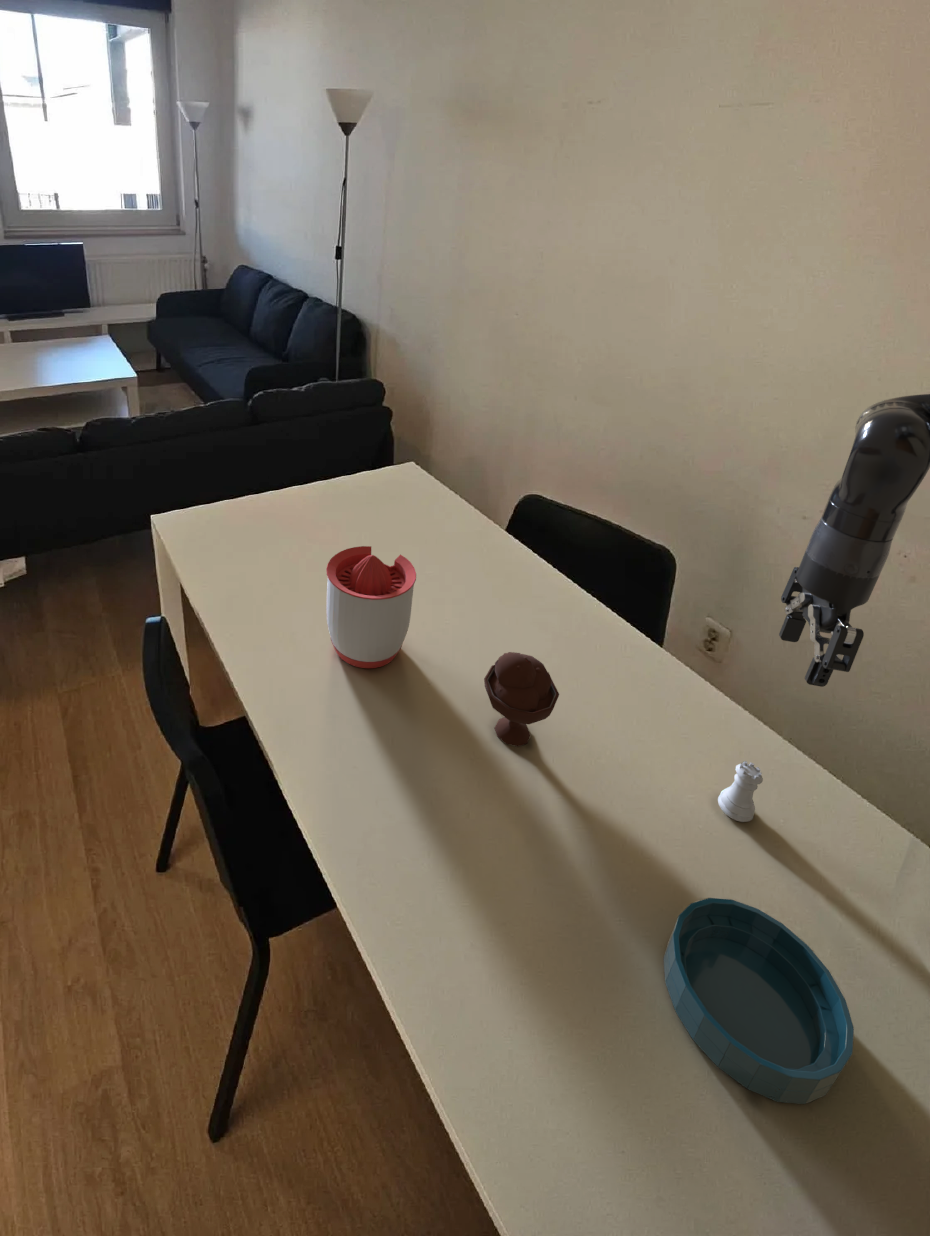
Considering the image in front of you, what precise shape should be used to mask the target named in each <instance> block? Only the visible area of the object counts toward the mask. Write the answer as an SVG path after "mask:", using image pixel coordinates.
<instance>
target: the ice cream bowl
mask: <svg viewBox="0 0 930 1236" xmlns="http://www.w3.org/2000/svg"><path fill="white" fill-rule="evenodd" d="M483 681H484V688H485V691H486V694H487V696H488V699H489V702H490V705H491V707H492V709H494V710H495V711H496V712H497V713H499V714H500V715H501V716H502V718H501V717H500V718H499V719H498V720H497V722H496V724H495V725H494V731H495V734H496V737H497V738H498V739H499V740H501V741H502V742H503V743H504V744H505V745H508V746H513V747H521V746H524V745H527V744H528V743H529V742H530V741H529V740H530V738H531V733H530V730H529V727H528V726H527V725H531V724H535V723H539V722H541V721H544V720H546V719H547V718H549V717H550V716H551V714H552V713H553V711H554V708H555V706H556V703H557V701H558V698H559V696H560V693H559V690H558V688H557V686H556V685H555V683H554V681H553V679H552V677H551V674H550V672H549V671H548V670H547V668H546V666H545V665H544V663H542V661H540V660H539V659H537V658H536V657H534V656H533V655H530V654H524V653H521V652H514V651H513V652H512V651H508V652H504V653H503V654H502V655H500V656H498V658H497V660H496V661H495V662H494V664H493V665H491V666H490V667H489V670H488V671H487V673H486V675H485V677H484V679H483Z"/></svg>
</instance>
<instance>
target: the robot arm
mask: <svg viewBox="0 0 930 1236" xmlns="http://www.w3.org/2000/svg"><path fill="white" fill-rule="evenodd" d="M854 433H855V434H854V441H853V443H852V446H851V449H850V452H849V456H848V459H847V460H846V461H847V462H846V465H845V467H844V469H843V473H842V475H841V477H840V478H839V479H838V480H837V481H836V483H835V484H834V485H833V488H832V489H831V492H830V494H829V496H828V499H827V502H826V504H825V507H824V510H823V512H822V514H821V517H820V518H819V520H818V523H817V524H816V526H815V527H814V529H813V531H812V533H811V536H810V538H809V541H808V544H807V545H806V548H805V550H804V554H803V556H802V559H801V562H800V564H799V566H794V567H793V569H792V570H791V571H792V572H791V573H790V576H789V577H788V581H787V583H786V584H785V587H784V589H783V592H782V594H781V597H780V601H781V602H782V604H785V605H786V606H785V607H784V613H785V617H784V621H783V623H782V625H781V628H780V631H779V633H778V636H779V638H780V640H782V641H784V642H790V643H797V642H799V641H800V638H801V636H802V634H803V631H804V629H805V626H806V623H808V626H809V640H810V642H812V643H813V644H814V645H813V657H812V659H811V661H810V664H809V666H808V669H807V671H806V672H805V675H804V680H805V682H806V684H807V685H810V686H816V687H819V688H822V687H826V686H827V685H828V683H829V681H830V678H831V676H832V674H833V672H834V671H840V672H845V673H849V672H850V671H851V669H852V666H853V664H854V661H855V659H856V657H857V654H858V651H859V649H860V646H861V644H862V641H863V639H864V636H865V634H864V633H865V632H864V630H863V629H862V628H859V627H853V626H852V625H851V623H850V619H851V618H850V617H851V612H852V610H853V609H856V608H858V607H860V606H863V605H865V604H867V603H868V602H869V600H870V597H871V596H872V593H873V591H874V590H875V586H876V584H877V583H878V580H879V578H880V575H881V574H882V572H883V568H884V566H885V565H886V562H887V560H888V558H889V555H890V551H891V547H892V543H893V540H894V538H895V535H896V533H897V531H898V529H899V526H900V524H901V522H902V519H903V517H904V515H905V512H906V509H907V506H908V503H909V501H910V500H911V498H912V497H913V496H914V494H915V493H916V492H917V490H918V488H919V487H920V486H921V484H922V482H923V481H924V479H925V477H926V475H927V474H928V472H929V471H930V393H922V394H911V395H901V396H895V397H892V398H887V399H884V400H880V401H877V402H875V403H873V404H871V405H869V406H867V408H865V409H864V410H863V411H862V413H860V415H858V418H857V421H856V424H855V430H854ZM794 592H795V593H799V594H798V595H797V596H796V595H793V593H794ZM821 633H824V634H830V635H831V637H824V636H822V635H821ZM825 645H827V648H826V651H825Z"/></svg>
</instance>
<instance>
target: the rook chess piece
mask: <svg viewBox="0 0 930 1236" xmlns="http://www.w3.org/2000/svg"><path fill="white" fill-rule="evenodd" d="M735 772H736V773H735V774H734V775H733V776H734V781H733V782H732V784H731V785H730V786H728V787H725V788H724V789H722V790H721V791H720V794H719V795H718V797H717V803H718V806H719V808H720V809H721V811H722V812H723V813H724V814H725V815H726V817H728V818H730V819H731V820H733V821H736V822H740V823H745V822H751V821H752V820H753V819H754V815H755V812H756V807H755V803H754V802H755V801H754V794H755V793H754V792H755V791H756V790H758V787H759V785H761V784H763V782H764V778H763V775H762V774H763V772H761V768H760V767H759V766H756V767H755V763H753V762H749V763H748V761H747V760H744V761H742V762H740V763H738V764H736V765H735Z"/></svg>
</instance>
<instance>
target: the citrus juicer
mask: <svg viewBox="0 0 930 1236" xmlns="http://www.w3.org/2000/svg"><path fill="white" fill-rule="evenodd" d="M393 561H394V563H393V565H389V564H386V563H384V562H383V561H382V560H381V559H380V558H379V557H378V556H376V555H374V554H372V546H367V545H361V546H353V547H350V548H346V549H343V550H341V551H339V552H337V553H336V554H334V555H333V556H332V557H331V558H329V561H328V562H327V564H326V571H325V572H326V577H327V579H326V581H327V585H326V605H325V606H326V609H325V610H326V623H327V629H328V633H329V636H330V641H331V644H332V646H333V648H334V651H335V652H336V654H337V656H338V657H339V658H340V659H341V660H342V661H343V662H345V663H347V664H349V665H351V666H352V667H356V668H361V669H376V668H380V667H381V668H382V667H384V666H386V665H388V664H389V663H391V662H392V661H393V660H394V659H395V657H396V656H397V654H399V652H400V650H401V649H402V646H403V644H404V641H405V639H406V636H407V634H408V630H409V627H410V622H411V615H412V606H413V595H414V588H415V587H414V586H415V583H416V581H417V572H416V569H415V566H414V564H413V563H412V562H411V561H410V560H409V559H408V558H407V557H405V556H404V555H402V554H399V555H398V556H397V557H396V558H395V560H393Z"/></svg>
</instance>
